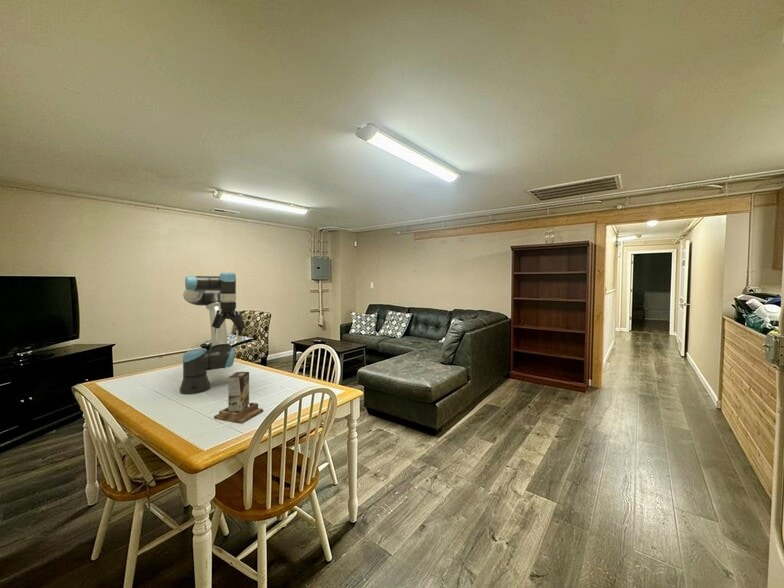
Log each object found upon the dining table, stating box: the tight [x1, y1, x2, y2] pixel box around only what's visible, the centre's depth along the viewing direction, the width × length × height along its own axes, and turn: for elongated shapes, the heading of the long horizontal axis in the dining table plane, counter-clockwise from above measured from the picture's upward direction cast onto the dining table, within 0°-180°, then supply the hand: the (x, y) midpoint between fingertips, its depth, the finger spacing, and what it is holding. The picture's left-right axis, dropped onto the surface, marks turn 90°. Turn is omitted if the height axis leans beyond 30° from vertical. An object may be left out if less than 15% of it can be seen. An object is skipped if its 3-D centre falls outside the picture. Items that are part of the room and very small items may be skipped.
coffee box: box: [227, 371, 250, 411], centre depth 149 cm, size 9×6×16 cm
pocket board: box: [213, 402, 264, 425], centre depth 150 cm, size 16×14×4 cm
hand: (228, 341), depth 168 cm, fingers open, 13 cm apart
